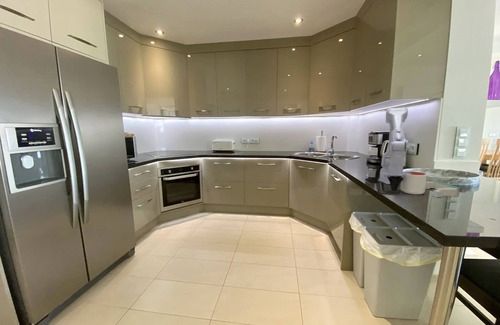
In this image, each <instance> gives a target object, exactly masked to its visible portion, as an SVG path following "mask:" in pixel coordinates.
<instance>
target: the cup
mask: <svg viewBox="0 0 500 325" xmlns="http://www.w3.org/2000/svg"><path fill="white" fill-rule="evenodd" d="M404 172H409V173H411V175H410V174H407V175H404V177H402V178H403V180H402V182H401V183H400V191H401V192H403V193H406V194H411V195H423V194H424V193H425V192H426V189H425V186H426V182H427V173H424V172H419V171H406V170H405V171H404Z"/></svg>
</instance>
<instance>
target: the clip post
mask: <svg viewBox="0 0 500 325" xmlns="http://www.w3.org/2000/svg"><path fill="white" fill-rule="evenodd" d="M432 190H433V191H432V192H433V193H432V197H433V196H434V198H436V197H441V198H442V197H443V196H442V191H439V190H436V189H432Z"/></svg>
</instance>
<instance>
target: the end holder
mask: <svg viewBox="0 0 500 325" xmlns="http://www.w3.org/2000/svg"><path fill="white" fill-rule="evenodd" d="M430 188H435V189H434V190H439V191H442V197H459V196H460V191H461V190H460V187H459V186H455V185H452V184H448V183H445V182H441V181H439V180H435V179H434V180H432V181H426V186H425V190H427V189H429V190H430Z"/></svg>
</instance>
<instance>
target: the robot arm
mask: <svg viewBox="0 0 500 325" xmlns="http://www.w3.org/2000/svg"><path fill="white" fill-rule="evenodd" d="M408 114H409V108H408V107H407V106H406V107H405V106H404V107H391V108H389V107H388V108H386V111H385V123H386V124H388V125H389V133H388V134H389V135H388V148H387V151H386V152H384V153H383V154H382V155H381V156H382V157H381V167H382V168H381V169H380V171H379V179H378V181H379V182H381V183H384V184H387V185H390V189H391V191H393V192H397V191H398V188H399V186H400V185H401V182H402V180H403V178H402V177H404V175H407V174H410V175H411V173H409V172H405V171H404V161H405V153H406V151H407V146H408V144H407V143H408V142H407V140H406V137H405V130H404V129H402V127H403V123H404V122H406V120H407V118H408Z"/></svg>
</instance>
